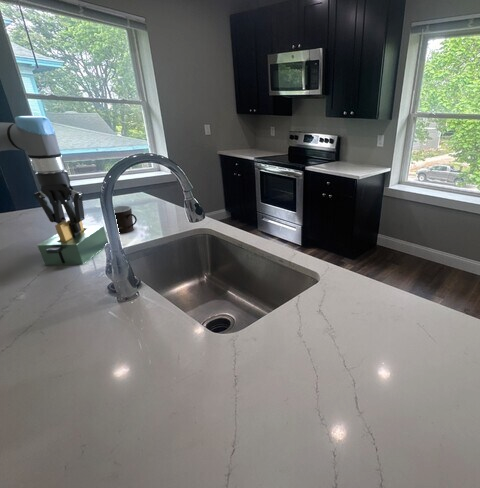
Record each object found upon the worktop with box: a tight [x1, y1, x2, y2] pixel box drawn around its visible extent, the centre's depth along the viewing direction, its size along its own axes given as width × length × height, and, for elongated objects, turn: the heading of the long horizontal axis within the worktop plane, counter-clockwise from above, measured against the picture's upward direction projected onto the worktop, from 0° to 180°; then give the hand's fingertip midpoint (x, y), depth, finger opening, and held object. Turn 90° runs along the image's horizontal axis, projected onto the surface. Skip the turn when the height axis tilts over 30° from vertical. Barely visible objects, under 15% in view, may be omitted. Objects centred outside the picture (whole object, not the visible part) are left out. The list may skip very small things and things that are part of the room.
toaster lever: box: [46, 247, 63, 254], centre depth 92 cm, size 3×2×1 cm
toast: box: [54, 217, 85, 242], centre depth 100 cm, size 2×10×11 cm, turn 8°
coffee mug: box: [113, 205, 138, 235], centre depth 120 cm, size 12×9×10 cm
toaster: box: [37, 225, 109, 266], centre depth 102 cm, size 11×16×8 cm
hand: (74, 240), depth 101 cm, fingers closed on toast, 2 cm apart
